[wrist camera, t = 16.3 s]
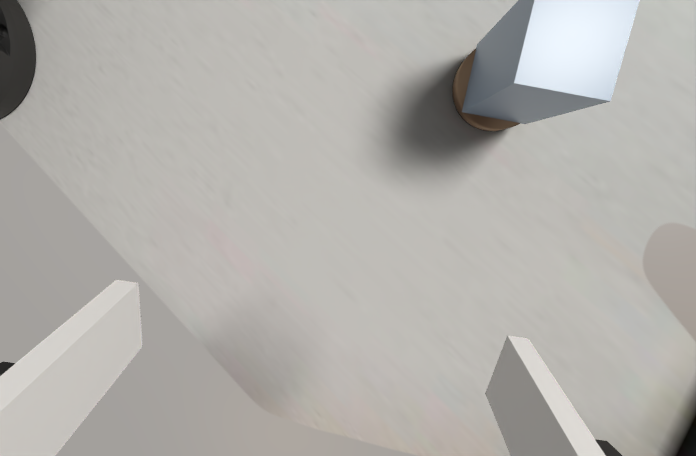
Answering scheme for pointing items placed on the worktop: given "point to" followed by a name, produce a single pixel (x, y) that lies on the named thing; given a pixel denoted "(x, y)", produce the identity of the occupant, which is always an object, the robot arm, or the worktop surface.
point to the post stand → (459, 97)
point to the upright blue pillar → (549, 59)
